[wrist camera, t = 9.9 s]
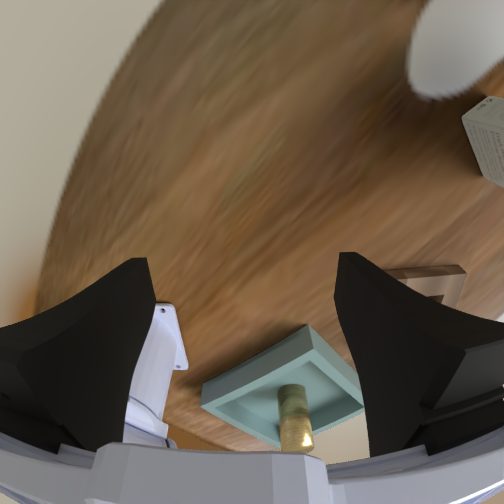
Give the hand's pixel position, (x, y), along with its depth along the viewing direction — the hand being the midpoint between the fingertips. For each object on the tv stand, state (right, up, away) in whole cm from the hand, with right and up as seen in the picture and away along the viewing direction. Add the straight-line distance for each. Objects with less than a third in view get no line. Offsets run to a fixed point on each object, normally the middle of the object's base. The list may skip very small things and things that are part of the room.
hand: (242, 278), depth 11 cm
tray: (+4, -13, +19) cm, 24 cm away
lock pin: (+4, -14, +18) cm, 23 cm away
